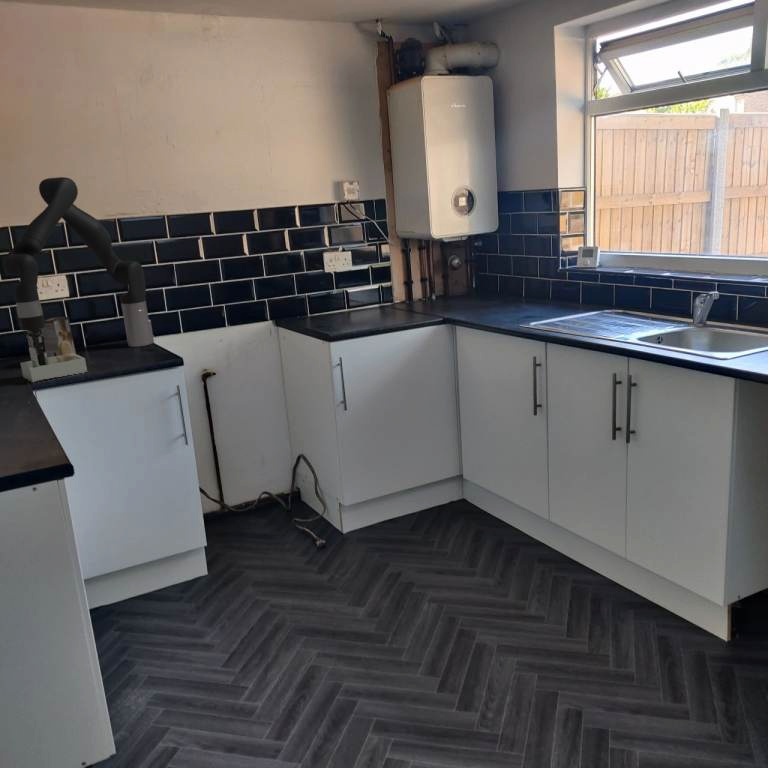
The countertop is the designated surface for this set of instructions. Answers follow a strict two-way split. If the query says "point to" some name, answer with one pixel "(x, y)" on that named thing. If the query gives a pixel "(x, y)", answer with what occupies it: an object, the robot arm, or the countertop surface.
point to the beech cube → (65, 358)
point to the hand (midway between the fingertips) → (40, 363)
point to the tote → (53, 368)
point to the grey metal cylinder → (34, 357)
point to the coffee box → (58, 337)
